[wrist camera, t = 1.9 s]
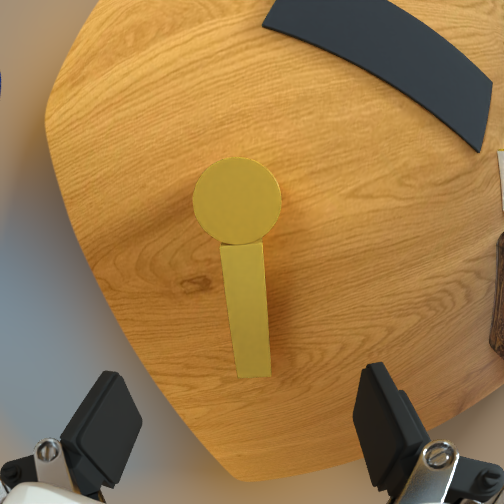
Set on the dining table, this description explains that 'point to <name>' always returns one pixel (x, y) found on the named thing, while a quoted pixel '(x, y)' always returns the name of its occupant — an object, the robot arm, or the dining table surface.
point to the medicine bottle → (501, 172)
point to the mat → (394, 56)
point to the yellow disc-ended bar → (241, 250)
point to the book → (498, 303)
